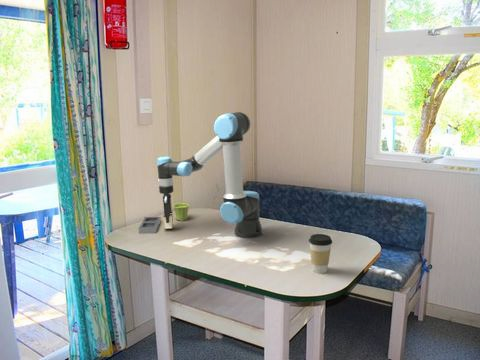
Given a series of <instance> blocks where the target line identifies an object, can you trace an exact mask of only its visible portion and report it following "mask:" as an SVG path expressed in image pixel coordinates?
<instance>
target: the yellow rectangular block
mask: <svg viewBox="0 0 480 360" xmlns="http://www.w3.org/2000/svg"><path fill="white" fill-rule="evenodd" d="M162 219H163V229H164V230H165V229H167V230H168V229H173V228H174V217H173V213H170V222H171V228H166V224H165V217H164V215H163V217H162Z"/></svg>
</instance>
